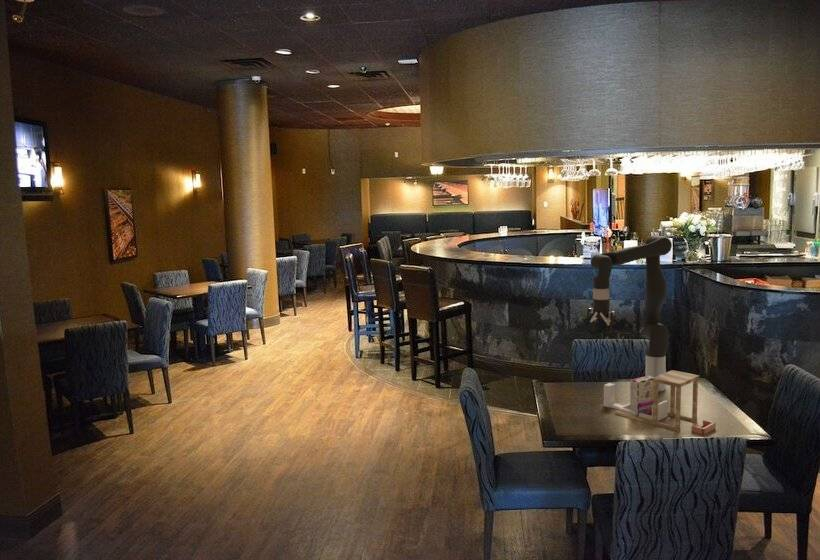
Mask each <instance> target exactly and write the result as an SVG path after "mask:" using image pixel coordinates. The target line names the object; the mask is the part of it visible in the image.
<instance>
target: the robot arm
mask: <svg viewBox="0 0 820 560" xmlns="http://www.w3.org/2000/svg"><path fill="white" fill-rule="evenodd" d="M672 244H673V243H672V241H671V240H670V238H668V237H666V236H662V235H655V234H654V235H650V236H648V237H647V238H646V240H645V243H644V244H642V245H635V246H628V247H624V248H620V249H617V250H614V251H610V252H609V251H607V252H603V253H598V254H595V255H593V257H592V258H591V259H590V265H591V267H592V268H593V269H594V270H597V271H598V273H597V275H595V276H594V277H593V290H592V307H589V308H587V312H586V313H587V314H586V322H587V321H588V322H590V329H591V331H596V320H597V319H600V320H603V321H604V322H605V324H606V333H607V334H611V333H612V329H613V325H615V324H616V323H617V322H616V321H617V317H616V316H617V315H616V314H617V313H616V310H613V311H610V306H611V304H610V303H611V302H610V301H611V300H610V299H611V298H610V297H611V296H610V295H611V293H610V278H611V276H612V275H611V274H612V271H613V266H614V267H615V266H617V267H618V266H622V265H625V264H628V263H631V262H634V261H637V260H641V259H645V265H646V267H645V268H646V270H645V271H646V272H645V276H646V280H645V315H644V322H643V334H644V336H645V338H647V339H648V340H649V341H648V343H649V345H648V346H649V347H647V348H646V349H645V372H644V373H645V376H648V375H649V376H652V377H656V376H659V375H661V374H664V373H666V372H667V368H666V363H667V362H666V358H667V357H666V356H667V355H666V354H667V351H668V346H669V330H668V328H667V326H665V324H662V323H661V310H662V307H663V305H664V303H665V300H666V297H667V296H666V295H667V280H666V277H665V274H664V272H663V269H662V267H661V256H665V255H668V254H669V252H671V250H672V248H673V247H672V246H673V245H672ZM666 388H667V387H666V384H661V383H658V393H660V392H664V391H665V390H666Z"/></svg>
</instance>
